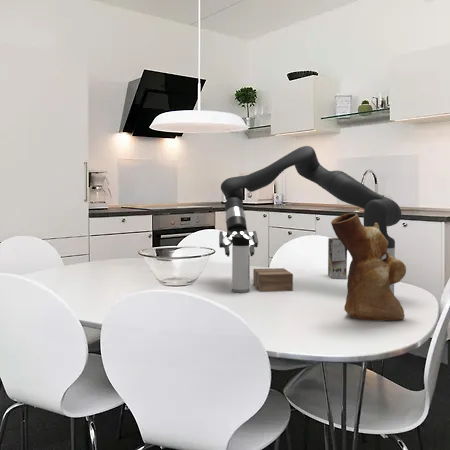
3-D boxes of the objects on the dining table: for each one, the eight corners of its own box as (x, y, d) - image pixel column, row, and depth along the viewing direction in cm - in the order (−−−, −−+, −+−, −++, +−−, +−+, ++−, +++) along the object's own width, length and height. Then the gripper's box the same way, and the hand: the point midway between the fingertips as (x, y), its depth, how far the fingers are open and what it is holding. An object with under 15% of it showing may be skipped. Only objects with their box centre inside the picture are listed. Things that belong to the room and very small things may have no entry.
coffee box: (347, 278, 213) (347, 239, 212) (331, 278, 213) (332, 239, 212) (342, 275, 222) (343, 237, 221) (327, 275, 222) (328, 237, 221)
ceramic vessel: (415, 322, 143) (418, 213, 141) (342, 326, 138) (343, 214, 136) (386, 309, 158) (388, 211, 156) (319, 312, 154) (320, 212, 152)
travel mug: (228, 290, 188) (228, 235, 187) (245, 289, 191) (245, 234, 189) (235, 293, 182) (235, 237, 181) (252, 292, 185) (252, 236, 184)
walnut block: (292, 290, 188) (292, 274, 187) (260, 291, 186) (260, 274, 186) (283, 283, 202) (283, 268, 201) (253, 284, 200) (253, 268, 200)
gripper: (218, 215, 193) (221, 248, 183) (255, 214, 195) (261, 248, 184) (216, 228, 199) (219, 261, 188) (253, 227, 201) (258, 261, 190)
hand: (240, 255), depth 186 cm, fingers open, 8 cm apart
